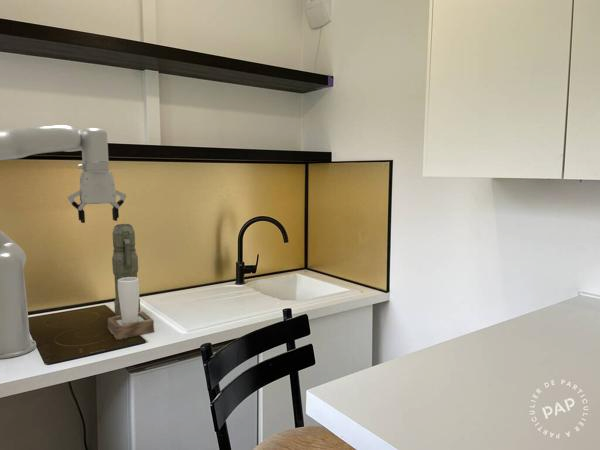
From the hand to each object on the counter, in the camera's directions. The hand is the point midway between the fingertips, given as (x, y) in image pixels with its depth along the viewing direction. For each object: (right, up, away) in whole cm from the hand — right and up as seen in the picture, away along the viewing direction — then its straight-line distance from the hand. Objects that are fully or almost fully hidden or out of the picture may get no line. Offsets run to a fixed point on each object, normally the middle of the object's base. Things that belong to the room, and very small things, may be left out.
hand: (99, 221), depth 142 cm
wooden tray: (+7, -37, +9) cm, 39 cm away
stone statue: (0, -36, +23) cm, 43 cm away
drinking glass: (+7, -35, +9) cm, 36 cm away
